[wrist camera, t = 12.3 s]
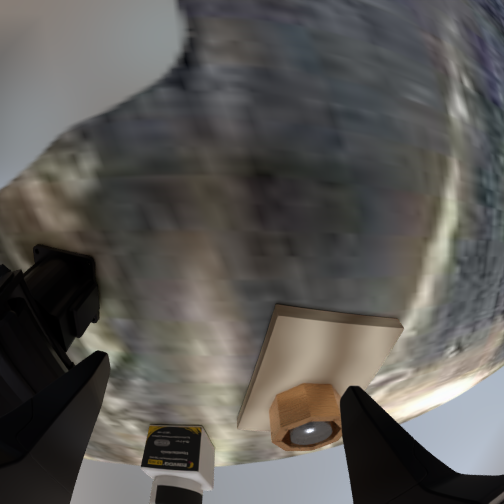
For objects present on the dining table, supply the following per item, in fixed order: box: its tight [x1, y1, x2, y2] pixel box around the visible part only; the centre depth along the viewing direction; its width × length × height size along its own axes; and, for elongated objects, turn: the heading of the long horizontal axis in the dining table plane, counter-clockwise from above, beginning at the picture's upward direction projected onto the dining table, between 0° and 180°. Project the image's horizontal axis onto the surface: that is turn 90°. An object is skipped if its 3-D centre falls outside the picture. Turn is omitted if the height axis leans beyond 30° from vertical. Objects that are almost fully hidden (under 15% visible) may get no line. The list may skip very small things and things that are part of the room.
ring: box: [269, 383, 342, 451], centre depth 24 cm, size 7×7×4 cm
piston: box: [289, 421, 332, 445], centre depth 24 cm, size 4×4×4 cm
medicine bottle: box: [141, 425, 215, 504], centre depth 25 cm, size 7×7×12 cm
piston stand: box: [237, 304, 404, 432], centre depth 25 cm, size 12×17×2 cm
